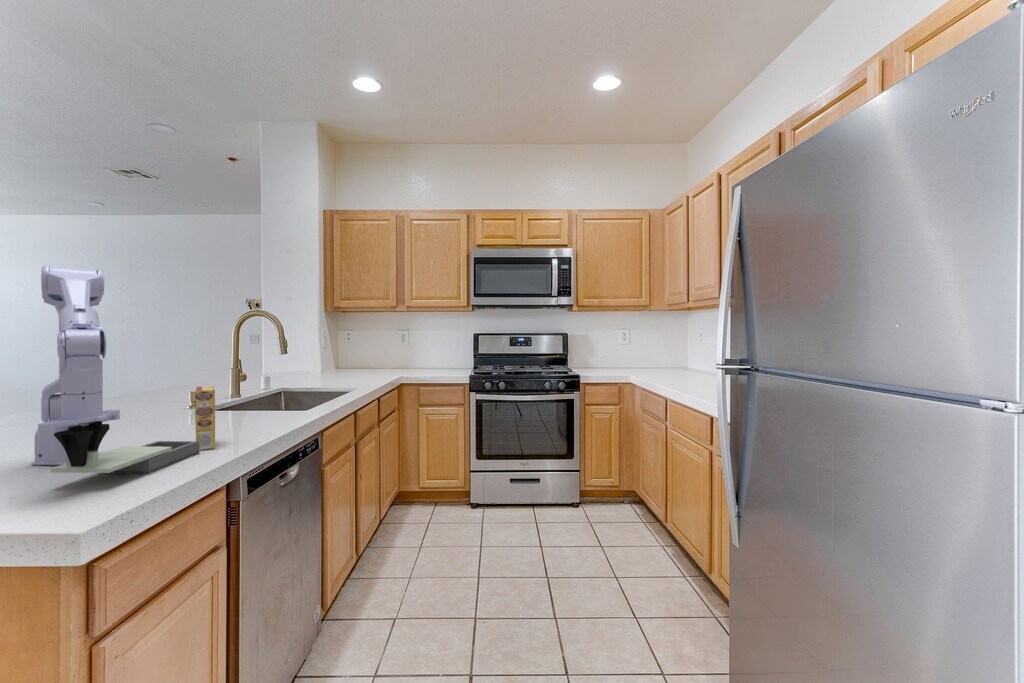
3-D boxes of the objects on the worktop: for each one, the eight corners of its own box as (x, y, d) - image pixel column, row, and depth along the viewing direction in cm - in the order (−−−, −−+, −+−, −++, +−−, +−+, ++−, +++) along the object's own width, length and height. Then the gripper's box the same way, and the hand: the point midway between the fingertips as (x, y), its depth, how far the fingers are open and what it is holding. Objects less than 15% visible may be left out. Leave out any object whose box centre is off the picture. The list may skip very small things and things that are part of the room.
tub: (100, 473, 95) (100, 459, 95) (157, 453, 111) (157, 440, 111) (148, 473, 95) (148, 459, 95) (199, 453, 111) (199, 441, 111)
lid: (50, 472, 85) (50, 452, 85) (123, 450, 101) (123, 433, 101) (108, 472, 85) (108, 452, 85) (171, 450, 102) (171, 433, 102)
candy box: (215, 449, 116) (215, 389, 116) (194, 451, 114) (194, 390, 113) (215, 441, 123) (215, 385, 123) (196, 443, 121) (196, 386, 121)
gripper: (67, 398, 78) (67, 477, 79) (135, 388, 93) (135, 454, 93) (25, 398, 78) (25, 476, 78) (99, 388, 93) (99, 454, 93)
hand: (82, 464), depth 86 cm, fingers closed on lid
